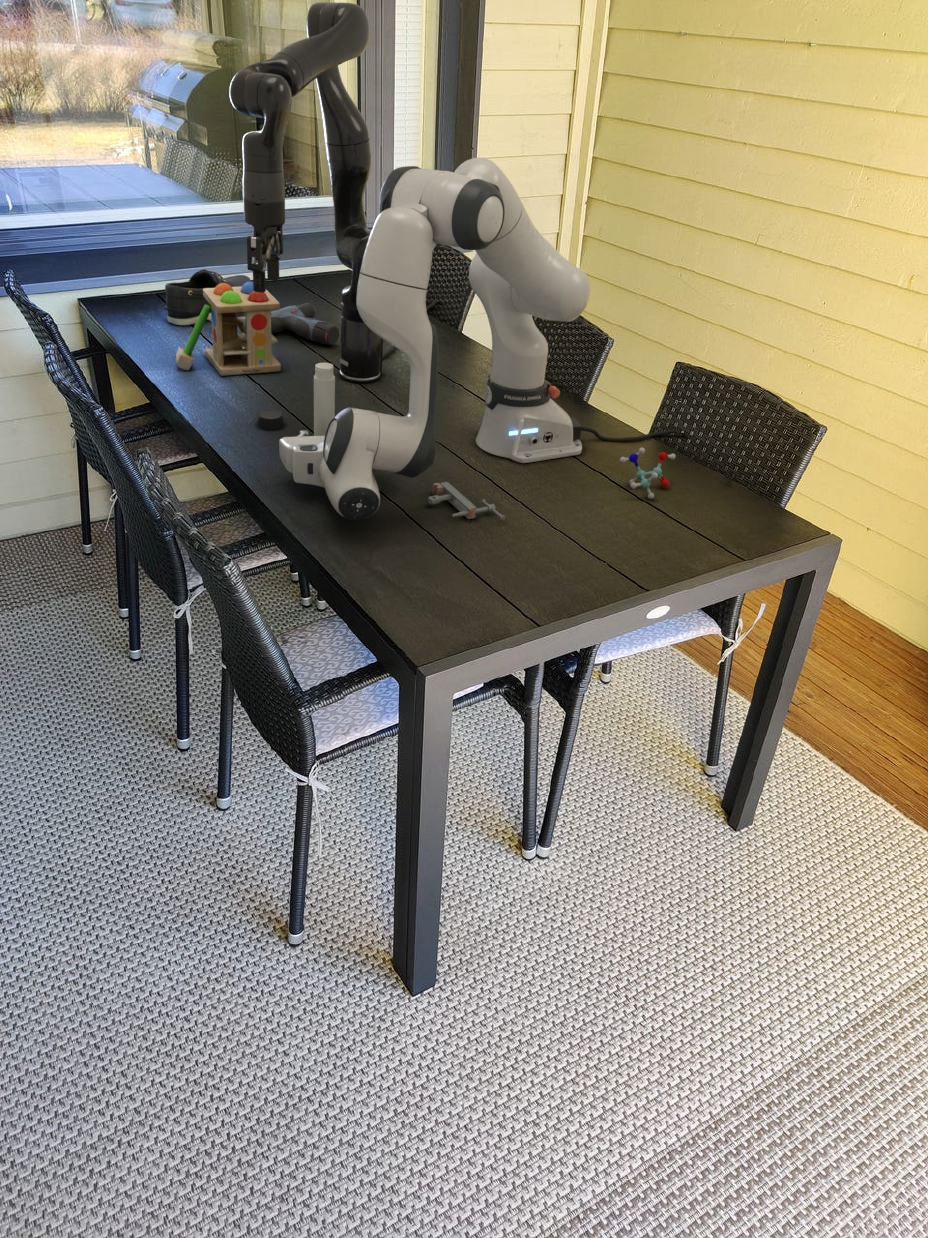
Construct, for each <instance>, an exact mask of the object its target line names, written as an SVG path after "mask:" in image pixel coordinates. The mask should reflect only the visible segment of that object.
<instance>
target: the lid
mask: <svg viewBox="0 0 928 1238" xmlns="http://www.w3.org/2000/svg"><path fill="white" fill-rule="evenodd" d="M257 418H258V421H257V422H258V427H260V428H261V429H264V430H269V431H272V430H273V431H274V430H279V429H280V428H282V427H283V425H284V423H283V422H284V421H283V420H284V419H283V413H282V412H281V411H279V410H275V409H265V410H261V411H260V412H258V416H257Z"/></svg>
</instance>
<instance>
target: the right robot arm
mask: <svg viewBox="0 0 928 1238" xmlns="http://www.w3.org/2000/svg"><path fill="white" fill-rule="evenodd" d="M378 204H379V205H378V208H379V214H378V215H377V216H376V218H375V222H374V224H373V227H372V228H371V234H370V237H369V239H368V243H367V246H366V249H365V253H364V257H363V261H362V265H361V270H360V272H361V273H360V275H359V280H358V287H357V297H356V305H357V309H358V312H359V315H360V317H361V318H362V320H363V321H364V323H365V324H366V325H367V326H368V327H369V328H370V329H371V330H372V331H373V332H374V333H375V334H377V335H378V336H379V337H381V338H382V339H383V341H385V342H387V343H388V344H390V345H391V346H392V347H393V346H395V347H396V349H397V350H399V351H400V352H401V353H402V354H403V355H404V356H405V358H406V360H407V361H408V364H409V368H410V369H409V370H410V371H409V372H410V373H409V374H410V375H409V397H408V412H407V414H406V415H404V416H401V415H393V414H388V413H382V412H377V411H375V410H369V409H362V408H357V407H350V406H348V407H346V408H344V409H342V410H341V411H339V412H338V413H337V414H335V417H334V418H333V419H332V420H331V421H330V423H329V425H328V427H327V430H326V434H325V436H314V435H310V434H309V431H308V430H299V434H298V435H297V436H284V437H281V438H280V439H279V440H278V453H279V459H280V460H281V463H282V465H283V467H284V468H285V469H286V470H287V472H289V473H291V474H292V478H293V482H294V483H297V484H304V485H312V486H317V487H320V488H324V490H325V493H326V496H327V498H328V500H329V502H330V504H331V506H332V507H333V509H334V510H335V511H336V513H337V514H339V516H341V517H343V518H344V519H346V520H350V521H362V520H365V519H368V518H370V517H371V516H373V515H374V514H376V512H377V511H378V510H379V508H380V506H381V505H380V504H381V494H380V489H379V486H378V482H377V480H376V477H375V475H374V472H373V470H376V471H382V472H388V473H392V474H395V475H399V476H403V477H408V478H411V479H414V478H416V477H418V476H420V475H421V474H423V473H424V472H426V471H427V470H428V469H429V468H431V467H432V465H433V463H434V460H435V457H436V451H437V450H436V448H437V439H436V438H437V434H436V408H437V392H438V391H437V389H438V375H439V335H438V331H437V327H436V325H434V324H433V323H432V322H431V321H430V320H429V316H428V310H427V311H426V307H427V293H428V292H427V291H428V287H429V282H430V278H431V277H430V276H431V270H432V263H433V262H432V261H433V251H434V249H435V248H436V247H437V245H441V246H448V247H455V248H460V249H462V250H465V251H475V252H476V253H474V254H475V255H474V256H473V257H472V259H471V260H470V261H471V262H470V264H469V269H468V280H469V285H470V287H471V290H472V291H473V292H474V294H475V295H476V296H477V298H478V299H479V301H480V302H481V304H482V307H483V309H484V311H485V314H486V316H487V320H488V323H489V328H490V333H491V342H492V344H491V359H490V360H491V361H490V373H489V375H488V376H487V380H486V387H485V396H484V397H485V399H484V400H485V407H484V412H483V417H482V421H481V424H480V427H479V430H478V432H477V435H476V437H475V444H476V445H477V447H478V448H480V449H481V450H483V451H485V452H487V453H489V454H491V455H494V456H497V457H501V458H502V457H503V458H507V459H510V460H512V461H515V462H516V463H520V464H526V463H528V464H529V463H533V462H534V463H535V462H541V461H546V460H552V459H553V460H554V459H559V458H566V457H573V456H578V455H581V454H582V453H583V444H582V441H581V434H582V431H583V432H588V433H591V434H593V435H594V436H595V437H596V438H597V439H598V440H601V441H604V442H612V443H625V442H635V441H636V442H637V441H642V440H645V439H649V438H653V437H659V436H664V435H665V436H667V435H670V434H676V433H675V430H673V429H667V430H662V431H653V432H650V433H647V434H643V435H638V436H632V437H607V436H603V435H601V434H600V433H599V432H598V431H597V430H596V429H593V428H591V427H589V426H588V427H587V426H582V425H581V424H580V422H579V421H578V420H577V418H575V417H574V416H569V414H568V413H567V411H565V409H563V407H561V406H560V405H559V404H558V403H557V402H556V401H555V400H553V399H557V398H559V397H560V394H561V391H560V389H559V388H557V386H555V385H552V383H551V382H549V381H548V380H546V379H545V378H546V371H547V363H548V356H549V345H548V341H547V339H546V337H545V336H544V334H543V333H542V332H541V331H540V330H539V328H538V327H537V325H536V323H535V321H534V319H533V317H535V318H539V319H541V320H545V321H550V322H551V321H552V322H563V323H564V322H566V323H570V322H573V321H575V320H576V319H578V318H579V317H580V316H581V315H582V314H583V312H584V311H585V309H586V308H587V305H588V303H589V301H590V296H591V284H590V281H589V278H588V274H586V272H585V271H584V270H582V269H581V268H579V267H578V266H576V265H574V264H573V263H572V262H570V261H569V260H568V259H566V257H564V256H563V255H562V254H561V253H560V252H559V251H558V250H557V249H556V248H555V247H554V246H553V245H552V244H551V243H550V242H549V240H547V239H546V238H545V237H544V236H543V235H542V233H541V232H540V231H539V230H538V229H537V227H536V226H535V224H534V223H533V221H532V218H530V216H529V214H528V212H527V209H526V208H525V206H524V204H523V202H522V200H521V198H520V196H519V193H518V192H517V191H516V188H515V187H514V186H513V184H512V183H511V181H510V180H509V178H508V177H507V175H506V174H505V173H504V172H503V170H502V169H501V168H500V167H499V166H498V165H497V164H496V163H495V162H494V161H492V160H491V159H489V158H485V157H474V158H470V159H467V160H464V161H463V162H462V163H461V164H459V166H457V168H456V169H455V170H454V172H453V171H449V170H440V169H432V168H421V167H419V166H415V165H408V166H406V165H405V166H400V167H396V168H395V169H393V170H392V171H391V172H390V173H389V174H388V175H387V177H386V178H385V180H384V182H383V184H382V185H381V189H380V193H379V199H378ZM678 434H680V435H681V436H682V437H684V438H688V437H689V435H688V434H687V433H686V434H684V433H678Z"/></svg>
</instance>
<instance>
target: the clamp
mask: <svg viewBox="0 0 928 1238" xmlns="http://www.w3.org/2000/svg"><path fill="white" fill-rule="evenodd" d="M432 494H433V495H431V496H428V497H427V499H428V500H427V502H428V504H429V505H438V504H441V503H442V502H444V501H445V502H446V501H447V502H449V504H451V505H452V506H453V508H455V509H456V510H457V511H459V512H455V513H452V514H451V517H452V518H455V517H456V518H457V517H463V516H464V517H465V518H466V519H468V520H472V519H476V517H477V515H476V514H479V513H484V512H487V513H491V512H493V513H494V514H495V515H497V516H498V517H499V519H500V520H501V521H504V520H506V516H505V515H504V514H501V513H500V512H499V511H498V510H497V509H496V508H497V507H496V505H495V504H494V503H491V504H490V503H488V502H487V501H486V499H485V498H483V499H481V501H480V504H481V505H484V506H483V507H478V508H477V506H476V505H475V504H473V502H472V501H470V500H469V499H468V498H467V497H465V495H463V494H462V493H461V492H460V491H458V489H456V487H454V486H453V485H451V483H450V482H449V481H442V482H434V483H432Z"/></svg>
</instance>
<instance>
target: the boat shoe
mask: <svg viewBox="0 0 928 1238" xmlns="http://www.w3.org/2000/svg"><path fill="white" fill-rule="evenodd" d="M247 282H253V280H251V278H250V277H249V276H247V275H244V274H235V275H232V276H231V275H230V276H227V277H223V276H222V275H221V274H219V273H217V272H215V271H212V270H207V269H200V270H198V271H196V272H194V273H193V274H192V275H191V276H190V278H189V279H188V280H187V281H180V282H167V283H166V284H165V285H164V289H165V295H166V296H165V306H164V310H165V311H166V312H167V313H166V318H167V322H168V323H170V324H173V325H176V326H190V325H195V324H196V322H197V320H198V318H199V316H200V314H201V311H202V309H203V307H204V305H208V306H210V307H211V305H210V304H209V302H208V301H207V300H206V299H205V297H204V296H203V289H204V288H215V287H216V286H217V285H218V284H221V283H226V284H228V285H230V286H231V287H242V286H243V285H244V284H245V283H247ZM209 314H211V310H210V312H209ZM206 321H210V320H209V318H207V320H206Z"/></svg>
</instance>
